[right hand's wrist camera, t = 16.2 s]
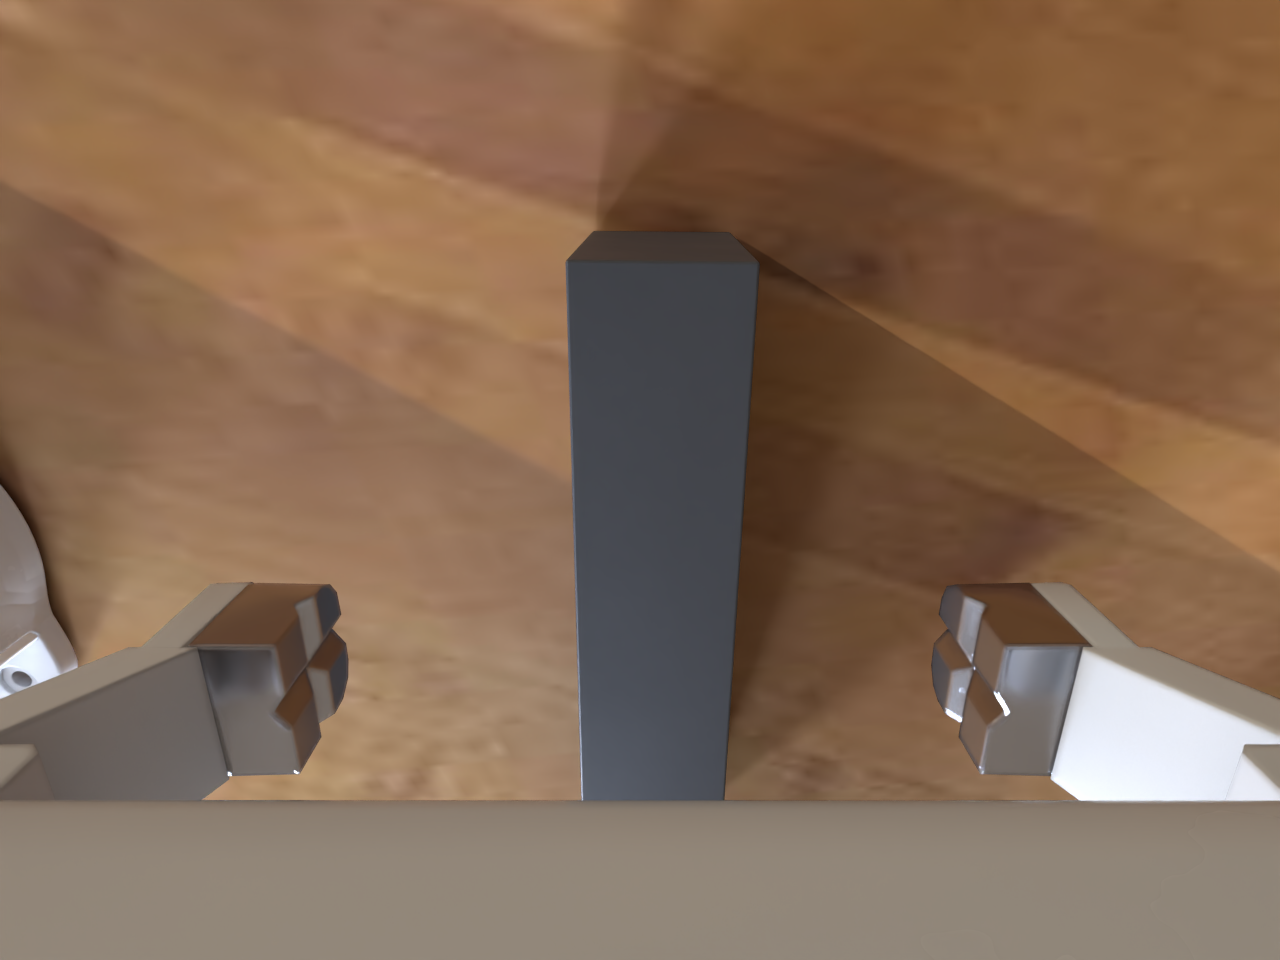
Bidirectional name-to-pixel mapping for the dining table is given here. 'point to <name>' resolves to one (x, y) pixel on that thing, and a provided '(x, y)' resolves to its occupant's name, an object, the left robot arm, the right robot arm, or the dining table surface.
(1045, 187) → the dining table surface
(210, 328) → the dining table surface
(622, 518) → the bar
